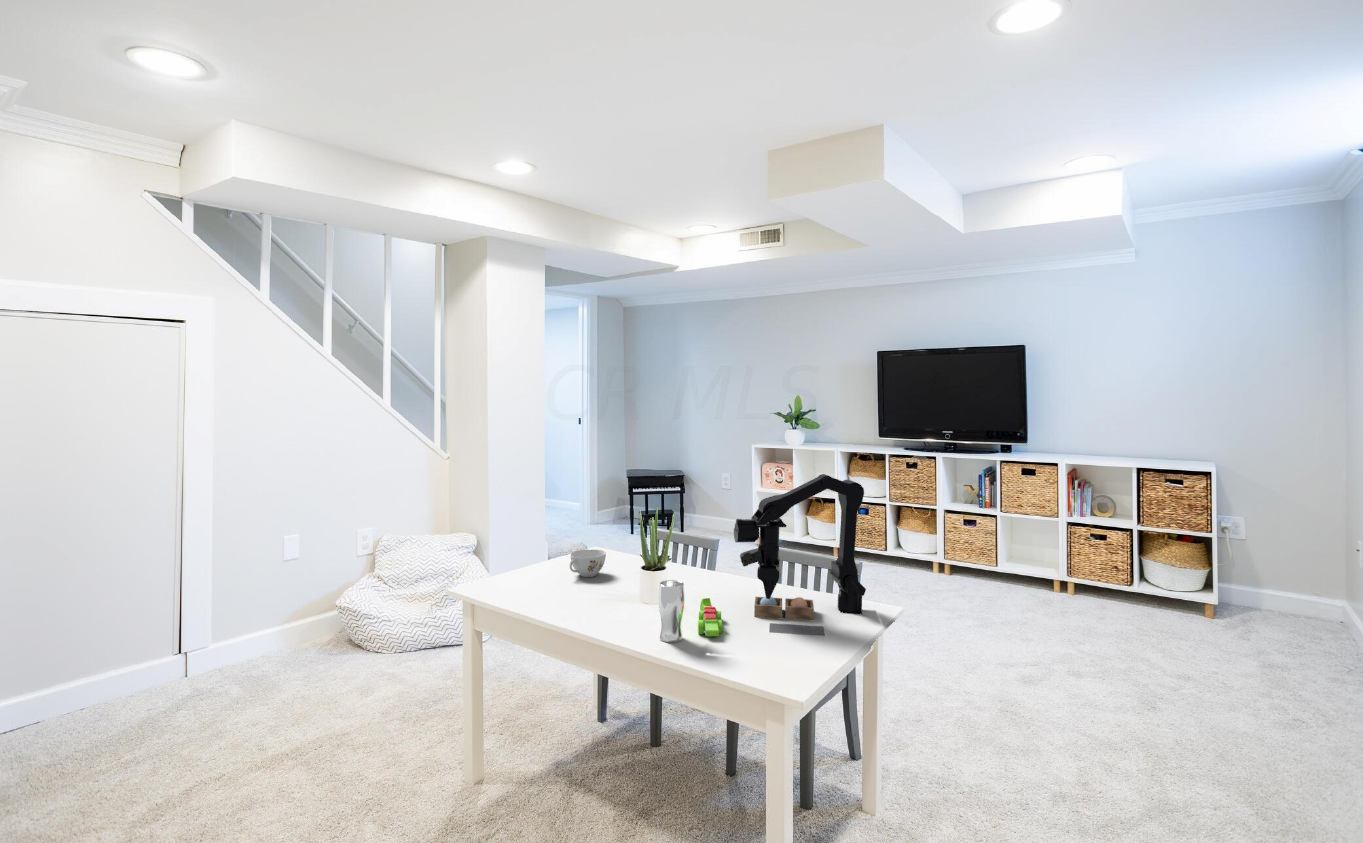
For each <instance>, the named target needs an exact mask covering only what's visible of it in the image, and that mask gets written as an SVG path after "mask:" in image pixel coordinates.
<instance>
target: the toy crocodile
mask: <svg viewBox="0 0 1363 843" xmlns="http://www.w3.org/2000/svg"><path fill="white" fill-rule="evenodd" d="M722 633H723V621H722V611H721V610H717V608H716V606H713V605H712V602H711V598H710V597H706V598H702V599H701V601H700V605H699V610H698V621H697V634H698V635H704V634H705V637H719V635H720V634H722Z"/></svg>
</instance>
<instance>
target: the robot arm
mask: <svg viewBox="0 0 1363 843" xmlns="http://www.w3.org/2000/svg"><path fill="white" fill-rule="evenodd" d="M825 490H829V491H833V492H835V493H837V497H838V503H839V505H840V508H841V515H840V528H839V530H840V531H839V546H838V556H837V559H836V561H835V560H832V561H831V562H830V563H831V564H830V565H831V569H830V572H829V574H831V575H832V576H831V577H832V580H833V581H834V582H835V583H836V584H837V586H838V588H839V594H837V609H838V611H839V612H840V614H849V615H851V614H852V615H863V610H862V609H863V596H865V594H866V590H867V589H866V587H865V586H863V584H862V583H861V582H860V581H859V574H858V572H859V571H858V567H857V564H856V561H855V555H856V554H855V551H856V539H857V538H856V536H857V524H858V523H857V522H858V511H859V510H860V508H861V506H862V504H863V501H864V500H863V499H864V496H865V489H864V487H863V486H862V484H860V483H858V482H856V481H853V480H851V479H844V480H840V479H838V478H835V477H832V476H830V475H828V474H825V473H822V474H819V475H818V476H817V477H815V478H812V479H811V480H809V481H807V482H804V483H803V484H801V485H799V486H797V487H795V488H793V489H791V490H789V491H787V492H785V493H781V494H776V495H772V496H768V497H765V498H763V499H762V500H760V501H759V504H758V506H757V507H758V508H757V510H756V511H755V512H754V513H753V515H752V516H751V517H750V518H751V519H750V518H749V519H748V518H746V519H744V518H736V520H735V524H734V528H733V538H734V542H735V543H755V542H757V541H758V539H759V544H758V547H757V548H753V549H749V550H746V551H743V552H741V553H740V555H739V558H740V563H741V564H742V566H743V567H747V566H749V565H753V564H755V563H757V564H758V567H757V576H756V577H757V579H758V580H759V581H761V582H762V584H763V589H764V594H765V596H766V599H770V597H772V594H773V593H774V590H775V588H776V586H777V583H778V582H779V580H780V568H779V567H780V528H787V524H786V523H785V522H784V521H783V519H782V517H783V516H784V515H786V513H788V511H789V510H790V509H791V508H793V507H794V506H796V505H798V504H800V503H802V502H804V501H806V500H808V499H810V498H813V497H814V496H816V495H818V494H820V493H822V492H824V491H825Z"/></svg>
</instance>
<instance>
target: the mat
mask: <svg viewBox="0 0 1363 843" xmlns="http://www.w3.org/2000/svg"><path fill="white" fill-rule="evenodd" d="M768 629H769V631H768V632H769V633H771V634H772V633H774V634H791V635H803V636H804V635H805V636H807V635H808V636H818V637H819V636H821V637H825V636H826V633H825V627H824V626H822V625H807V624H806V625H805V624H792V623H791V624H790V623H789V624H788V623H773V622H769V628H768Z"/></svg>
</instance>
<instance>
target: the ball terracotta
mask: <svg viewBox="0 0 1363 843" xmlns="http://www.w3.org/2000/svg"><path fill="white" fill-rule="evenodd" d="M792 599H793V600H792V602H791V605H790V606H791V607H807V608H808V605H807V602H806V601H805V600H804V599H805V598H803V597H800V596H799V597H795V598H792Z"/></svg>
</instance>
